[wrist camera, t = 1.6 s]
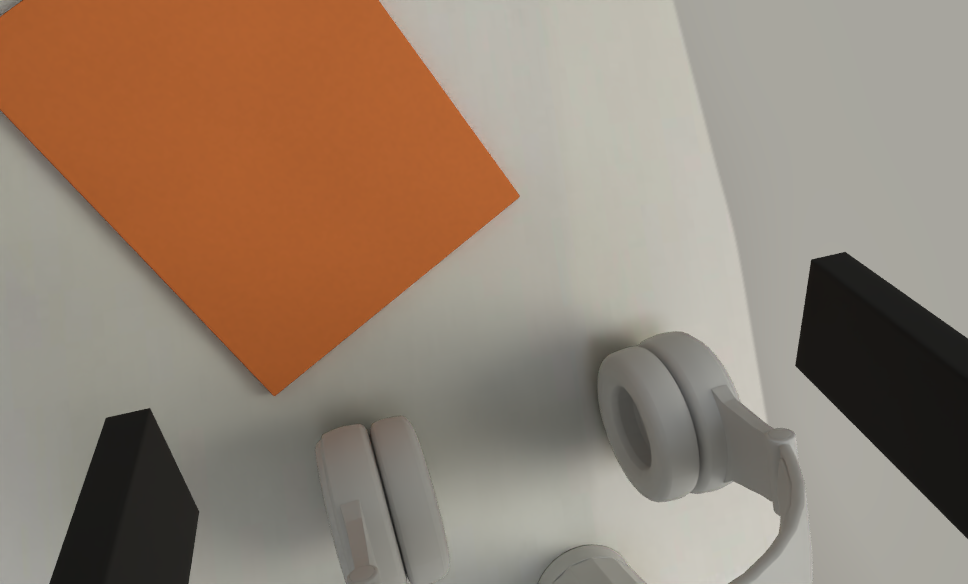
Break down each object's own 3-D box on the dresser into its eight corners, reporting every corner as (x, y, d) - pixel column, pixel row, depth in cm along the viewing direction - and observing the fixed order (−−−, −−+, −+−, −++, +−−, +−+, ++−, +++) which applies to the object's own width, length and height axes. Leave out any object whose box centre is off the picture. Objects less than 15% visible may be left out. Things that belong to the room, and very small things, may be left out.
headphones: (657, 311, 41) (953, 442, 23) (677, 444, 43) (964, 663, 25) (308, 410, 37) (322, 668, 19) (348, 552, 39) (396, 910, 21)
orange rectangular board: (-47, 56, 30) (-53, 54, 30) (255, -166, 32) (254, -172, 31) (274, 393, 36) (274, 396, 36) (517, 195, 38) (520, 196, 37)
